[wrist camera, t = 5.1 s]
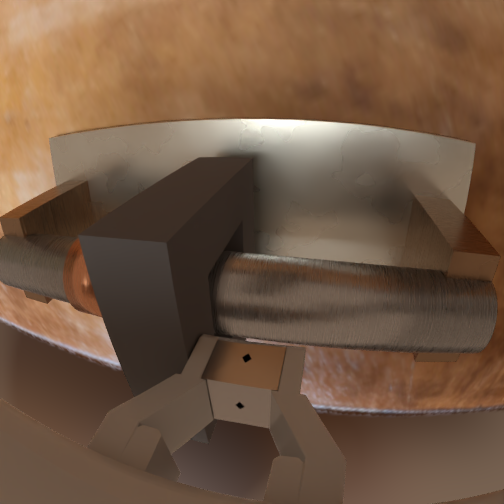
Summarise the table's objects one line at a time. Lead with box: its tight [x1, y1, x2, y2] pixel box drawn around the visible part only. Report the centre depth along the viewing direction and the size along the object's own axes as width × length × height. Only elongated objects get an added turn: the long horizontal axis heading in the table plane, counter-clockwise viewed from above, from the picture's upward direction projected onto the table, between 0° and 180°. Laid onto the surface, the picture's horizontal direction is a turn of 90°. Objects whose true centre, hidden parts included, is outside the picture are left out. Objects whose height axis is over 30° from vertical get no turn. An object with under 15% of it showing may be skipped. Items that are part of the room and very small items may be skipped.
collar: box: [78, 157, 254, 444], centre depth 12 cm, size 2×8×8 cm, turn 1°
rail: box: [0, 118, 501, 362], centre depth 14 cm, size 24×11×8 cm, turn 91°
